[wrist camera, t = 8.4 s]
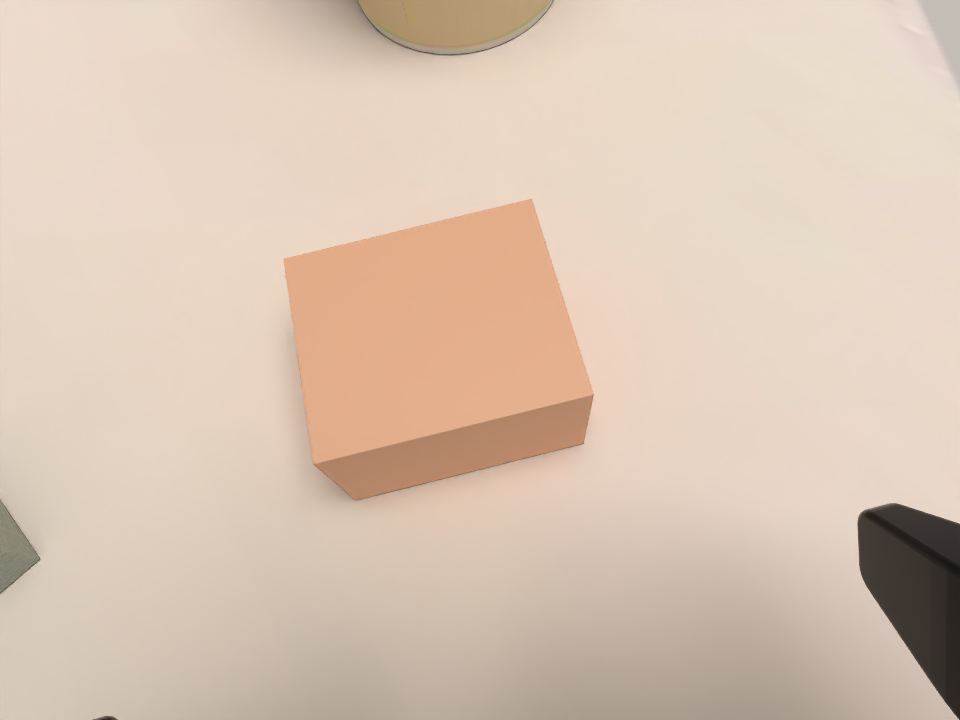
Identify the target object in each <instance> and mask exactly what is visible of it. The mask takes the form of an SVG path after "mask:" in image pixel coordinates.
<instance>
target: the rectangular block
mask: <svg viewBox="0 0 960 720" xmlns="http://www.w3.org/2000/svg"><path fill="white" fill-rule="evenodd" d="M284 266H285V273H286V280H287V286H288V293H289V300H290V307H291V314H292V321H293V328H294V335H295V341H296V348H297V355H298V362H299V369H300V376H301V383H302V389H303V396H304V403H305V410H306V417H307V424H308V431H309V438H310V444H311V451H312V458H313V464H314V465H315V466H316V467H317V468H318V469H320V470H321V471H322V472H323V473H324V474H326V475H327V476H328V477H329V478H330V479H331V480H333V481H334V482H335V483H336V484H337V485H338V486H340V487H341V488H342V489H343V490H344V491H345V492H347V493H348V494H349V495H350V496H351V497H352V498H354V499H355V500H359V499H363V498H367V497H371V496H375V495H379V494H383V493H387V492H391V491H395V490H399V489H403V488H407V487H411V486H415V485H419V484H423V483H428V482H432V481H436V480H440V479H444V478H448V477H452V476H456V475H460V474H464V473H468V472H472V471H476V470H480V469H484V468H488V467H492V466H496V465H500V464H504V463H508V462H512V461H516V460H520V459H524V458H528V457H532V456H536V455H540V454H544V453H548V452H552V451H556V450H560V449H564V448H568V447H572V446H576V445H580V444H584V439H585V434H586V429H587V424H588V420H589V415H590V410H591V405H592V400H593V396H594V394H593V391H592V388H591V385H590V381H589V378H588V375H587V372H586V369H585V366H584V362H583V359H582V356H581V353H580V350H579V347H578V343H577V340H576V337H575V334H574V331H573V328H572V324H571V321H570V318H569V315H568V312H567V309H566V306H565V302H564V299H563V296H562V293H561V290H560V287H559V283H558V280H557V277H556V274H555V271H554V268H553V264H552V261H551V258H550V255H549V252H548V249H547V245H546V242H545V239H544V236H543V233H542V230H541V226H540V223H539V220H538V217H537V214H536V211H535V207H534V204H533V201H532V199H529V200H525V201H521V202H517V203H512V204H508V205H504V206H500V207H496V208H492V209H488V210H483V211H479V212H475V213H471V214H467V215H463V216H459V217H455V218H450V219H446V220H442V221H438V222H434V223H430V224H426V225H422V226H417V227H413V228H409V229H405V230H401V231H397V232H393V233H389V234H384V235H380V236H376V237H372V238H368V239H364V240H360V241H356V242H351V243H347V244H343V245H339V246H335V247H331V248H327V249H323V250H318V251H314V252H310V253H306V254H302V255H298V256H294V257H290V258H285V259H284Z"/></svg>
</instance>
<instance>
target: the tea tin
mask: <svg viewBox="0 0 960 720" xmlns="http://www.w3.org/2000/svg"><path fill="white" fill-rule="evenodd" d="M39 559H40V558H39V557H38V555H37V554H36V552H35V551H34V549H33V548H32V546H31V545H30V543H29V542H28V540H27V539H26V538H25V536H24V535H23V533H22V532H21V530H20V529H19V527H18V526H17V524H16V523H15V521H14V520H13V518H12V517H11V515H10V514H9V512H8V511H7V510H6V508H5V507H4V505H3V504H2V502H1V501H0V593H1V592H2V591H3V590H4V589H6V588H7V587H8V586H9V585H10V584H11V583H13V582H14V581H15V580H16V579H17V578H18V577H20V576H21V575H22V574H23V573H24V572H25V571H27V570H28V569H29V568H30V567H31V566H32V565H34V564H35V563H36V562H37V561H38V560H39Z"/></svg>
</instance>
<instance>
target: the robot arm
mask: <svg viewBox="0 0 960 720" xmlns="http://www.w3.org/2000/svg"><path fill="white" fill-rule="evenodd" d="M858 546H859V566H860V571H861V575H862V578H863V580H864V582H865V584H866V586H867V588H868V589H869V591H870V592H871V594H872V595H873V597H874V598H875V600H876V601H877V603H878V604H879V606H880V607H881V609H882V610H883V612H884V613H885V615H886V616H887V618H888V619H889V620H890V622H891V623H892V625H893V626H894V628H895V629H896V631H897V632H898V634H899V635H900V637H901V638H902V640H903V641H904V643H905V644H906V646H907V647H908V649H909V650H910V652H911V653H912V655H913V656H914V658H915V659H916V661H917V662H918V663H919V665H920V666H921V668H922V669H923V671H924V672H925V674H926V675H927V677H928V678H929V680H930V681H931V683H932V684H933V686H934V687H935V688H936V690H937V691H938V693H939V694H940V695H941V697H942V698H943V700H944V701H945V702H946V704H947V705H948V706H949V707H950V709H951V710H952V711H953V712H954V714H955V715H956V716H957V718H958V719H959V720H960V524H959V523H956V522H953V521H950V520H947V519H944V518H941V517H937V516H934V515H931V514H928V513H925V512H922V511H919V510H916V509H913V508H910V507H907V506H904V505H900V504H896V503H890V504H886V505H882V506H878V507H874V508H871V509H867V510H864V511H863V512H862V513H860V515H859V517H858ZM93 720H117V719H116V718H114V717H112V716H104V717H101V718H97V719H93Z"/></svg>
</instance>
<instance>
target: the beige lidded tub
mask: <svg viewBox="0 0 960 720" xmlns="http://www.w3.org/2000/svg"><path fill="white" fill-rule="evenodd" d="M358 1H359V4H360V6H361V8H362V10H363V12H364V13H365V15H366V16H367V18H368V19H369V20H370V21H371V23H372V24H373V25H374V26H375V27H376V28H377V29H378V30H379V31H380V32H381V33H383V34H384V35H385V36H387V37H388V38H390V39H391V40H393V41H394V42H396V43H398V44H400V45H403V46H405V47H408V48H412V49H415V50H418V51H422V52H428V53H435V54H463V53H471V52H476V51H481V50H485V49H488V48H492V47H495V46H498V45H501V44H503V43H505V42H507V41H509V40H511V39H513V38H515V37H517V36H518V35H520V34H522V33H523V32H525V31H526V30H528V29H529V28H530V27H531V26H532V25H534V24H535V23H536V22H537V21H538V20H539V19H540V18H541V17H542V16H543V15H544V14H545V12H546V11H547V10H548V8H549V7H550V5H551V3H552V2H553V0H358Z"/></svg>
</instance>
